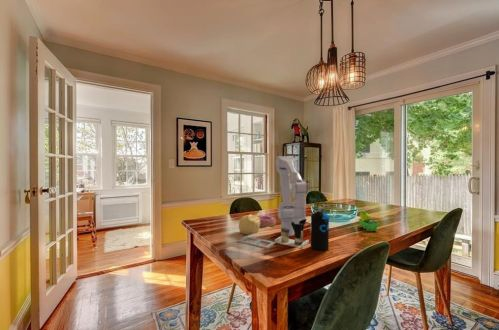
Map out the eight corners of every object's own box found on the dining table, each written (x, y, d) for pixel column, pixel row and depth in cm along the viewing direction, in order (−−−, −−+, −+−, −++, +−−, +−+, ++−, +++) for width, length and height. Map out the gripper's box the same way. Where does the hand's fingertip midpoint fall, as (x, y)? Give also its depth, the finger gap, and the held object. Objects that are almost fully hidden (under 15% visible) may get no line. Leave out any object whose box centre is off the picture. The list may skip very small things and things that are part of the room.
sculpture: (256, 237, 127) (256, 217, 127) (235, 235, 131) (235, 215, 131) (262, 232, 138) (262, 213, 138) (242, 229, 142) (243, 211, 142)
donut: (257, 221, 163) (258, 214, 163) (278, 223, 158) (278, 216, 158) (250, 226, 150) (250, 218, 150) (272, 229, 145) (272, 220, 145)
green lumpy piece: (379, 231, 141) (379, 212, 141) (364, 231, 141) (364, 212, 141) (370, 226, 152) (370, 209, 152) (356, 226, 153) (356, 208, 153)
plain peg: (283, 239, 120) (283, 227, 120) (290, 240, 118) (290, 228, 118) (279, 241, 116) (279, 229, 116) (287, 243, 114) (287, 230, 114)
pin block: (247, 240, 122) (247, 236, 122) (275, 246, 114) (275, 242, 114) (237, 245, 115) (238, 240, 115) (267, 251, 107) (267, 247, 107)
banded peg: (296, 242, 116) (296, 229, 116) (304, 243, 114) (304, 230, 114) (293, 244, 113) (293, 231, 113) (301, 245, 110) (301, 233, 110)
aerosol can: (306, 251, 108) (307, 207, 108) (316, 246, 114) (316, 205, 114) (323, 256, 102) (324, 209, 102) (332, 251, 108) (333, 207, 108)
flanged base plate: (282, 240, 123) (282, 235, 123) (309, 245, 115) (309, 240, 115) (274, 245, 115) (274, 239, 115) (302, 251, 108) (302, 245, 108)
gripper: (293, 204, 121) (293, 231, 121) (287, 209, 108) (287, 239, 108) (307, 205, 119) (307, 232, 119) (303, 210, 105) (303, 241, 105)
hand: (299, 235), depth 113 cm, fingers open, 7 cm apart
